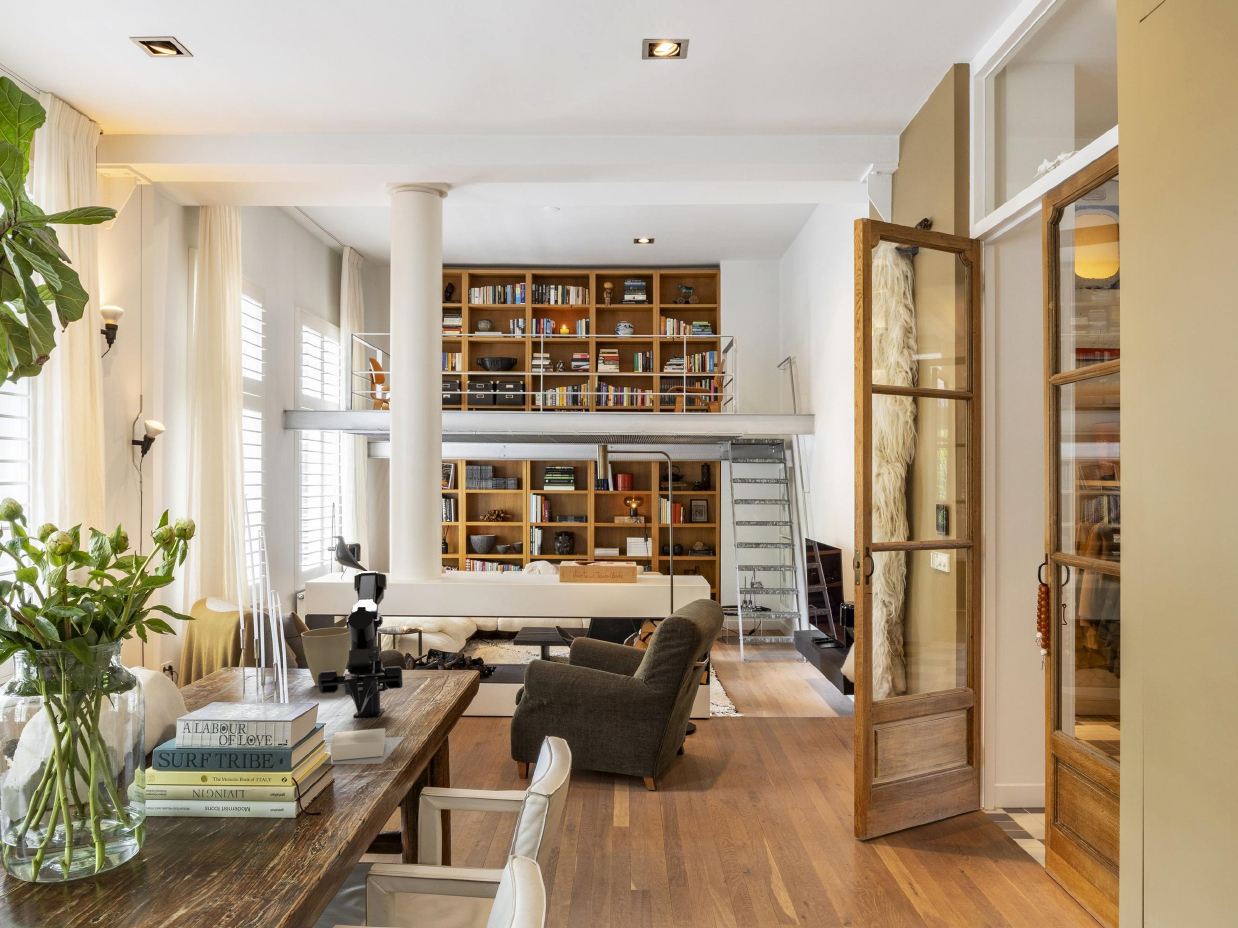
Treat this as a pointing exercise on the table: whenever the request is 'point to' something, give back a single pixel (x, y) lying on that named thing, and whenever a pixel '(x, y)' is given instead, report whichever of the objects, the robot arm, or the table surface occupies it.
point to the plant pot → (326, 650)
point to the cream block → (358, 744)
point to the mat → (389, 747)
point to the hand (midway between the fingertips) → (359, 711)
